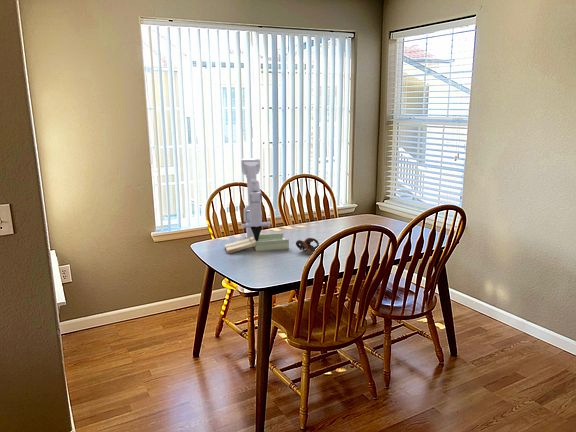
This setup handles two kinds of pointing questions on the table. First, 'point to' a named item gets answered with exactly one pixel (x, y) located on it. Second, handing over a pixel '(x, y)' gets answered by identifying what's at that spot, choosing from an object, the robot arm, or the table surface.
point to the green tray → (271, 242)
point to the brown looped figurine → (307, 245)
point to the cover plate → (240, 245)
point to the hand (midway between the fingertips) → (256, 240)
